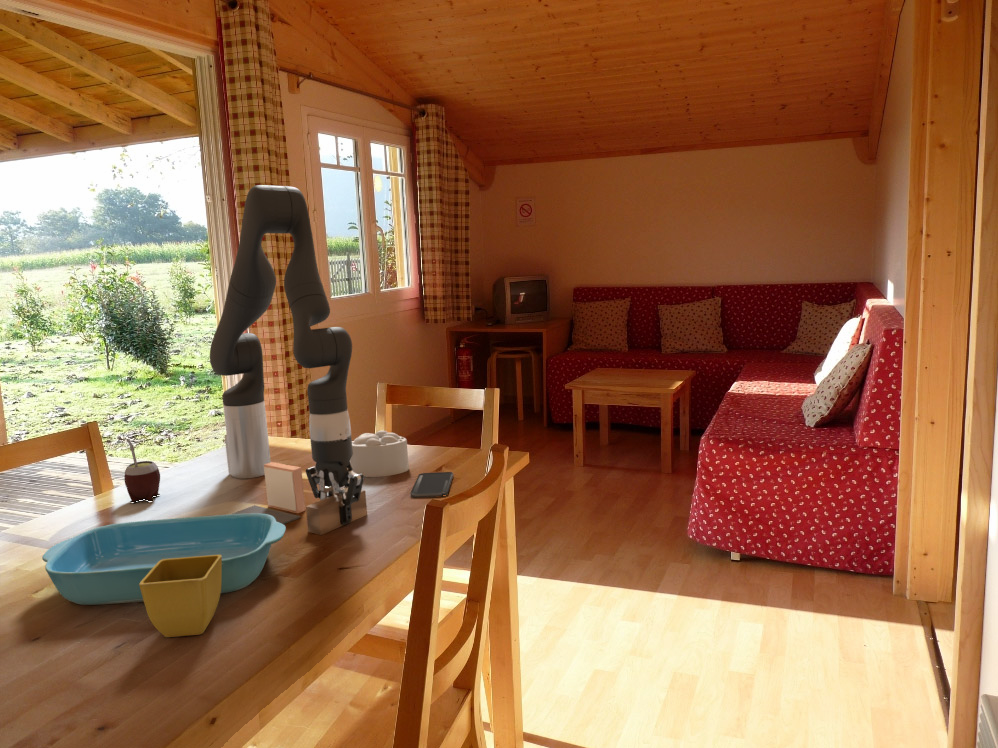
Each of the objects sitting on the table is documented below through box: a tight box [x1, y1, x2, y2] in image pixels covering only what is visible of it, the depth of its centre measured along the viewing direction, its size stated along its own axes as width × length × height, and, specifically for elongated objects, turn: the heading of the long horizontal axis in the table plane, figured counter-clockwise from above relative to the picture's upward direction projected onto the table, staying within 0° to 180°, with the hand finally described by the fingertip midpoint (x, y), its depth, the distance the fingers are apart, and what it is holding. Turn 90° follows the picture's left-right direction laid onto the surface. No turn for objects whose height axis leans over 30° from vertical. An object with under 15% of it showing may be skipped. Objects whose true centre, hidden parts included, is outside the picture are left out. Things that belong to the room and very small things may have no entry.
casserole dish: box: [41, 513, 287, 606], centre depth 126 cm, size 37×22×7 cm, turn 97°
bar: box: [305, 489, 368, 536], centre depth 148 cm, size 4×12×5 cm, turn 145°
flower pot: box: [139, 555, 222, 638], centre depth 108 cm, size 9×9×9 cm
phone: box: [410, 471, 454, 499], centre depth 168 cm, size 8×1×15 cm
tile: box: [264, 461, 306, 514], centre depth 157 cm, size 9×2×9 cm, turn 55°
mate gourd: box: [124, 438, 161, 502], centre depth 167 cm, size 8×8×15 cm
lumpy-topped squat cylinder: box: [350, 429, 410, 478], centre depth 181 cm, size 10×13×9 cm
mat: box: [231, 504, 301, 525], centre depth 153 cm, size 14×8×1 cm, turn 55°
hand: (338, 521), depth 148 cm, fingers closed on bar, 3 cm apart
